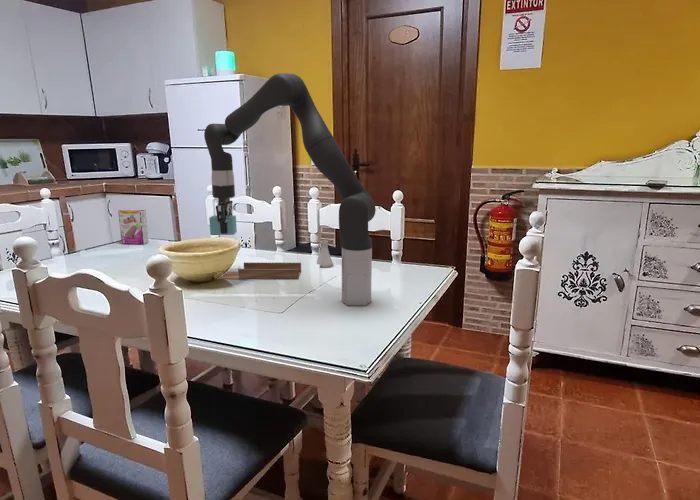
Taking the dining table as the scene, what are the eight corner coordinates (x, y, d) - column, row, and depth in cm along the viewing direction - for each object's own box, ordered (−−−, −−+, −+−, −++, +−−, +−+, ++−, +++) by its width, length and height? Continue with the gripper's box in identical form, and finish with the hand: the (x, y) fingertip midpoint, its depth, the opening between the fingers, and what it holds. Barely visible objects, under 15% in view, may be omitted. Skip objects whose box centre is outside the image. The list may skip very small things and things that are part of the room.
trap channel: (298, 282, 168) (298, 269, 167) (210, 282, 168) (209, 269, 167) (301, 274, 178) (301, 262, 177) (217, 274, 178) (216, 262, 177)
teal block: (233, 234, 167) (232, 217, 165) (210, 234, 167) (209, 217, 165) (236, 232, 172) (235, 215, 170) (214, 232, 172) (213, 215, 170)
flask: (334, 263, 194) (334, 239, 191) (332, 268, 187) (332, 243, 184) (317, 263, 195) (316, 239, 192) (313, 267, 188) (313, 242, 185)
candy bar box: (121, 244, 226) (117, 210, 222) (126, 242, 231) (123, 208, 227) (143, 245, 225) (140, 210, 221) (149, 242, 230) (145, 208, 226)
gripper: (217, 181, 172) (220, 228, 176) (206, 185, 158) (209, 236, 162) (238, 181, 172) (241, 228, 176) (229, 185, 158) (231, 236, 162)
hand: (226, 231), depth 169 cm, fingers closed on teal block, 5 cm apart
